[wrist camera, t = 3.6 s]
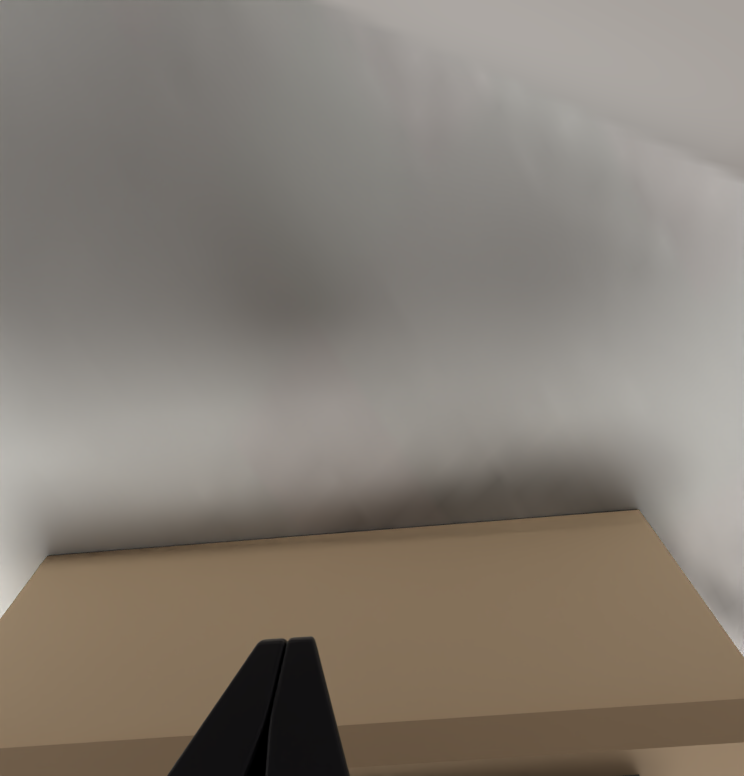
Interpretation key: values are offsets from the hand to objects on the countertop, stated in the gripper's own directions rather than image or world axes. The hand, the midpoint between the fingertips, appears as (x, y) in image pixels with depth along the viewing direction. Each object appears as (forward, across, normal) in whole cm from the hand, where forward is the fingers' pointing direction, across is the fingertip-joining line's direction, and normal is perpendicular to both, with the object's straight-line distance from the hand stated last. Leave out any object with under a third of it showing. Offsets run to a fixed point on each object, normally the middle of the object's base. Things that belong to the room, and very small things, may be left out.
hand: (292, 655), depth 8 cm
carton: (+7, 0, +12) cm, 14 cm away
